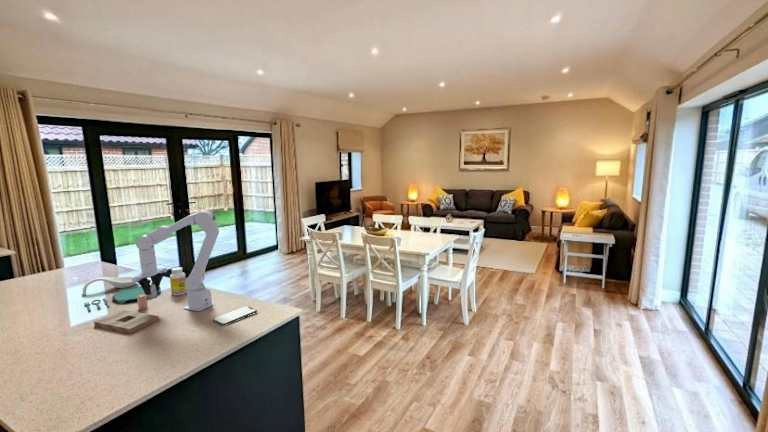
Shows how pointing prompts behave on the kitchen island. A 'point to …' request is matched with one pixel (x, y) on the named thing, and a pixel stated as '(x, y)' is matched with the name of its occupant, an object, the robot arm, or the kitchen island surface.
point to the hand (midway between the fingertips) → (152, 292)
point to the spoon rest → (112, 282)
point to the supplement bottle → (178, 281)
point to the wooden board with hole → (120, 324)
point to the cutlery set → (123, 296)
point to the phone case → (234, 315)
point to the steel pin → (152, 291)
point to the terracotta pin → (142, 302)
